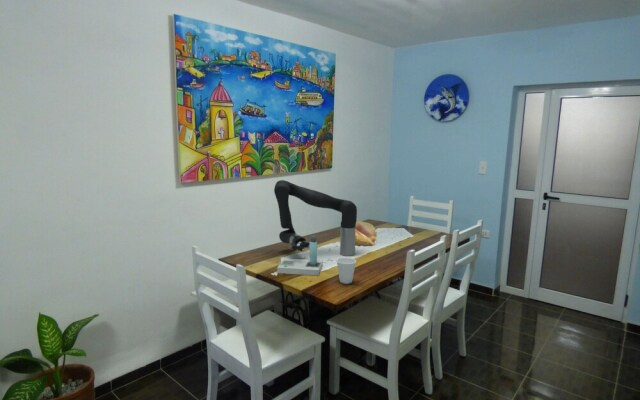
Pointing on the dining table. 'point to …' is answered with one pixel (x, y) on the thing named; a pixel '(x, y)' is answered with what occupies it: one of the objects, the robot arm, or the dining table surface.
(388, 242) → the dining table surface
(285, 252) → the dining table surface
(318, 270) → the panel
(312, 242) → the plug
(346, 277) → the cup
